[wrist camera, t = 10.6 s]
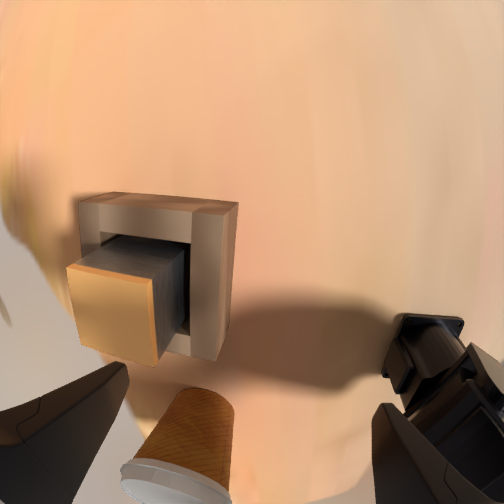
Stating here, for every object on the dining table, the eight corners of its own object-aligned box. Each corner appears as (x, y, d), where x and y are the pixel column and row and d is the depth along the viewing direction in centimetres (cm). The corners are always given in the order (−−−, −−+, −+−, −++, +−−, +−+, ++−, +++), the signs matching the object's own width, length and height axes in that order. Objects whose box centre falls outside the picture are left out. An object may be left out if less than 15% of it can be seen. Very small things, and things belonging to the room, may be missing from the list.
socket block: (238, 202, 20) (223, 215, 16) (228, 327, 23) (215, 361, 19) (113, 191, 21) (78, 202, 17) (120, 305, 24) (93, 330, 20)
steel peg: (202, 232, 21) (146, 284, 13) (200, 294, 23) (154, 367, 14) (141, 225, 22) (65, 267, 13) (143, 284, 23) (81, 344, 15)
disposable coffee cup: (170, 426, 29) (134, 506, 18) (153, 368, 26) (98, 461, 15) (250, 439, 28) (232, 530, 17) (250, 382, 25) (224, 496, 14)
